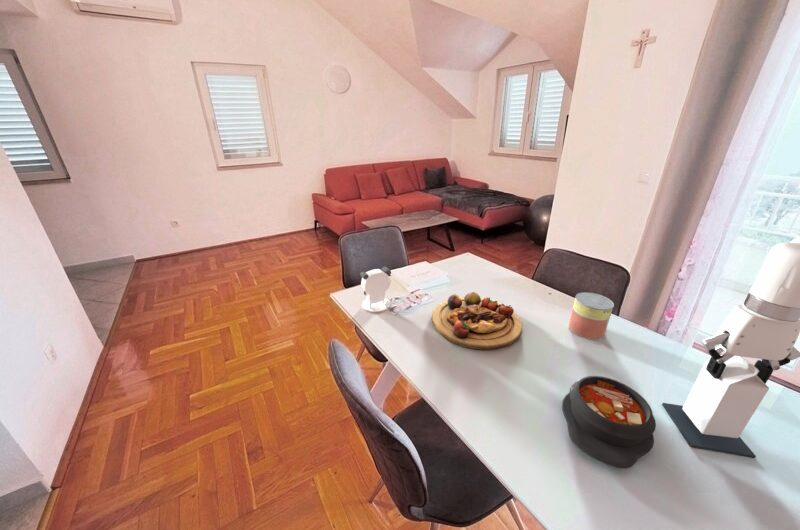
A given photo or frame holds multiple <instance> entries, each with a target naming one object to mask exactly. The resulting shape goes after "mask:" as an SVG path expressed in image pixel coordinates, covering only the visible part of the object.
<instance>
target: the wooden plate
mask: <svg viewBox="0 0 800 530" xmlns="http://www.w3.org/2000/svg"><path fill="white" fill-rule="evenodd" d="M431 323H432V326H433V327H434V330H436V332H437V333H438V334H439V335H440V336H442V337H443V338H445V339H446V340H448V341H449V342H451V343H453V344H456V345H458V346H461V347H465V348H469V349H475V350H497V349H502V348H505V347H508V346H510V345H512V344H513V343H516V342H517V340H518V339H520V337H521V335H522V333H523V322H522V319H521V318H520V316H519V315H518V314H517V313H516V312H515V311H514V308H513V306H512V305H511V304H509V305H505V304H504V303H501V302H499V301H498V300H493V299H491V297H490V296H489V297H481V296H480V295H479V294H478V293H477V292H475V291H472V292H468V293H467V294H466V295H464V296H460V295H459V294H456V293H453V294H451V295H450V296H449V297H448V298H447V299H446V300H443V301H442V302H440V303H438V305H436V306H435V308H434V309H433V311H432V313H431Z"/></svg>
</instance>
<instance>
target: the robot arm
mask: <svg viewBox="0 0 800 530" xmlns="http://www.w3.org/2000/svg"><path fill="white" fill-rule="evenodd" d="M799 335H800V236H797V237H795V238H794V239H792V240H791V241H789V242H780V243H777V244H775V245H774V246H772V248H770V250H769V252H768V254H767V256H766V258H765V260H764V262H763V264H762V266H761V268H760V270H759V272H758V274H757V276H756V277H755V280H754V282H753V284H752V286H751V288H750V289H749V292H748V294H747V296H746V298H745V299H744V301H743V302H742V304H737V305H736V306H735V307H734V308H733V309H732V310H731V311H730V312H729V313H728V315H727V316H726V317H725V318H724V320H723V321H722V323H721V324H720V326H719V328H718V329H717V331H716V333H715V335H713V336H711V337H707V338H705V339H704V338H703V339H702V340H701V343H702V346H703V347H704V349H705V350H706V352H707V353H708V355H710V358H709V359H710V361H709V363H708V365H707V367H706V370H707V371H708V372H709V373H710V374H711V375H712V376H713V377H714V378H715V379H719V378H720V376H721V375H722V373H723V371H724V369H725V367H726V364H725V363H724V362H726V361H727V360H729V359H730V358H732V357H733V356H741V357H742V358H750V359H757V360H756V362H755V363H754V364H753V365H754V366H755V367H756V368H757V369H758V370H759V371H760V372H758V374H757V376H758V377H759V378H760V379H761V380H762V381H763V382H764V383H765V384H766V383H767V382H768V381H769V379H770V377H771V376H772V374H773V373H774V371H779V370H780V369H781V367H783V366H785V365H788V364H790V363H791V361H794V360H796V359H798V358H800V351H799V350H798V349H797V348H796V347H795V344H796V342H797V340H798V338H799ZM722 354H723V355H722ZM720 355H721V356H720ZM766 385H767V384H766Z"/></svg>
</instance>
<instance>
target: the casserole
mask: <svg viewBox="0 0 800 530" xmlns="http://www.w3.org/2000/svg"><path fill="white" fill-rule="evenodd" d="M561 409H562V414H563V416H564V418H565V421H566V425H567V431H568V432H567V433H568V437H569V438H570V441H572V443H573V444H574V445H575V446H577V448H578V449H580V450H581V451H582V452H584V453H585V454H586V455H588V456H590V457H591V458H593V459H595V460H596V461H598V462H600V463H603V464H605V465H607V466H611V467H613V468H618V469H623V470H625V469H630V468H632V467H633V466H634V465H635V464H636V463H637V461H638V460H639V459H640V458H642V457H643V456H645V455H647V454H648V453H650V451H651V450H652V449H653V447H654V443H655V439H654V438H655V437H654V433H655V431H656V427H657V423H656V419H655V416H654V413H653V410H652V407H651V406H650V403H648V401H647V400H646V399H645V398H644V397H643V396H642V395H641V394H640V393H639V392H638V391H636V390H635V389H633V388H631V387H630V386H629V385H627V384H624V383H623V382H621V381H619V380H616V379H613V378H610V377H606V376H601V375H589V376H584V377H582V378H580V379H579V380H578V381H577V380H576V381H575V382H574V383H573V384H572V385H571V386H570V388H569V392H568V393H566V395H565V396H564V397H563V399H562V403H561Z"/></svg>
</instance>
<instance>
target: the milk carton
mask: <svg viewBox="0 0 800 530" xmlns="http://www.w3.org/2000/svg"><path fill="white" fill-rule="evenodd" d="M723 354H724V353H721V354H720V356H721V355H723ZM710 359H711V358H708V359H707V360H705V361H704V363H703V365H702V368H701V369H700V371H699V373H698V375H697V378H696V379H695V381H694V383H693V386H692V388H691V389H690V391H689V393H688V396H687V398H686V399H685V402H684V404H683V405H682V406H683V408H682V409H683V411H684V412H685V413H686V414H687V416H688V417H689V418H690V419H691V421H692V422H693V423H694V424H695V426H696V427H697V428H698V429H699V431H700V432H701V433H702V434H707V435H715V436H723V437H731V438H739V437H741V434H742V433H743V431H744V430H745V429H746V427H747V426H748V423H749V422H750V420H751V419H752V417H753V415H754V414H755V412H756V411H757V409H758V408H759V406H760V404H761V403H762V401H763V400H764V398H765V396H766V395H767V393H768V391H769V389H770V387H769V386H768V385H767V384H765V383H764V382H763V381H762V380H761V379H760V378H759V377H758V376H757V374H758V372H760V371H759V370H758V369H757V368H756V367H755V366H754V365H755V364H753V363H751V362H749V361H747V360H746V359H745V357H741V356H733V357H732V358H730V359H729V360H727V361H726V362H724V363H725V364H726V367H725V369H724V371H723V373H722V375H721V376H720V378H719V379H715V378H714V377H713V376H712V375H711V374H710V373H709V372H708V371H707V370H706V367H707V365H708V363H709V361H710Z"/></svg>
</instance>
